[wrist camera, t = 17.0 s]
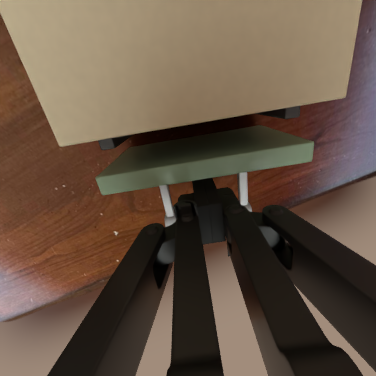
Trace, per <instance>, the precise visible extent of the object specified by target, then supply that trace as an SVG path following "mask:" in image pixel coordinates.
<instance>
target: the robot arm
mask: <svg viewBox="0 0 376 376" xmlns="http://www.w3.org/2000/svg"><path fill="white" fill-rule="evenodd" d="M192 183H193V190H194V193H191V194H184V195H181V196H180V197H179V198H178V202H177V203H176V204H175V205H174V206H173V209H174V213H175V218H176V221H175V222H174V223H173V224H172V225H169V226H167V227H163V225H162V224H159V223H154V224H149V225H147V226H146V227H144V228H143V229H142V230H141V232H140V233H139V235H138V236H137V238H136V239H135V241H134V242H133V244H132V245H131V247H130V249H129V250H128V252H127V253H126V255H125V256H124V258H123V259H122V261H121V262H120V264H119V266H118V267H117V269H116V270H115V272H114V273H113V275H112V276H111V278H110V279H109V281H108V283H107V284H106V286H105V287H104V289H103V290H102V292H101V293H100V295H99V297H98V298H97V300H96V301H95V303H94V304H93V306H92V307H91V309H90V310H89V312H88V314H87V315H86V317H85V318H84V320H83V321H82V323H81V324H80V326H79V328H78V329H77V331H76V332H75V334H74V335H73V337H72V339H71V340H70V342H69V343H68V344H67V346H66V348H65V349H64V351H63V352H62V354H61V355H60V357H59V358H58V360H57V361H56V363H55V365H54V366H53V368H52V369H51V371H50V372H49V374H48V375H47V376H135V375H136V372H137V369H138V366H139V363H140V360H141V357H142V355H143V351H144V349H145V345H146V343H147V340H148V337H149V334H150V331H151V328H152V325H153V322H154V319H155V316H156V313H157V310H158V307H159V304H160V301H161V298H162V295H163V292H164V289H165V286H166V283H167V280H168V277H169V274H170V271H171V268H172V264H173V262H174V288H173V319H172V349H171V364H170V367H169V369H168V370H167V376H224V374H223V367H222V362H221V355H220V349H219V343H218V337H217V331H216V325H215V318H214V312H213V306H212V300H211V293H210V287H209V281H208V274H207V268H206V262H205V256H204V250H203V244H209V243H215V242H222V241H226V239H227V249H228V256H230V257H231V260H232V263H233V266H234V269H235V272H236V275H237V279H238V282H239V285H240V288H241V291H242V294H243V298H244V301H245V304H246V307H247V310H248V313H249V316H250V320H251V323H252V326H253V329H254V332H255V335H256V339H257V341H258V345H259V348H260V351H261V354H262V358H263V361H264V364H265V367H266V370H267V373H268V376H363V375H362V373H361V372H360V370H359V369H358V367H357V366H356V364H355V363H354V362H353V360H352V359H351V358H350V357H349V355H348V354H347V353H346V352H345V351H344V350H343V349H341V348H339V347H336V346H334V345H332V344H331V343H330V342H329V341H328V339H327V338H326V336H325V335H324V333H323V331H322V330H321V328H320V326H319V325H318V323H317V322H316V320H315V318H314V317H313V315H312V313H311V312H310V310H309V309H308V307H307V305H306V304H305V302H304V301H303V299H302V297H301V295H300V294H299V292H298V291H297V289H296V287H297V288H298V289H299V290H300V291H301V292H302V293H303V294H304V295H305V296H306V297H307V299H308V300H309V301H310V302H311V303H312V304H313V305H314V306H315V307H316V308H317V309H318V310H319V311H320V313H321V314H322V315H323V316H324V317H325V318H326V319H327V320H328V321H329V322H330V323H331V324H332V325H333V326H334V328H335V329H336V330H337V331H338V332H339V333H340V334H341V335H342V336H343V337H344V338H345V339H346V340H347V342H348V343H350V345H351V346H352V347H353V348H354V349H355V350H356V351H357V352H358V353H359V354H360V355H361V357H362V358H363V359H364V360H365V361H366V362H367V363H368V364H369V365H370V366H371V367H372V368H373V369H374V371H375V372H376V265H374V264H373V263H371V262H369V261H368V260H366V259H365V258H363V257H362V256H360V255H359V254H357V253H355V252H354V251H352V250H351V249H349V248H347V247H346V246H344V245H343V244H341V243H340V242H338V241H337V240H335V239H334V238H332V237H330V236H329V235H327V234H326V233H324V232H322V231H321V230H319V229H318V228H316V227H315V226H313V225H312V224H310V223H308V222H307V221H305V220H304V219H302V218H301V217H299V216H297V215H296V214H294V213H293V212H291V211H290V210H288V209H287V208H285V207H282V206H279V205H269V206H266V207H264V208H263V213H259V212H250V211H248V209H247V208H246V207H245V206H243V205H241V204H240V203H239V201H238V199H237V197H236V196H235V194H234V192H233V191H232V190H231V189H230V188H228V187H227V188H220V189H216V186H215V184H214V181H213V179H212V178H206V179H200V180H194V181H192ZM225 236H226V238H225ZM294 285H295V286H296V287H295V286H294Z"/></svg>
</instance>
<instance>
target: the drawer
mask: <svg viewBox="0 0 376 376" xmlns="http://www.w3.org/2000/svg"><path fill="white" fill-rule="evenodd" d="M254 114H260V115H266V116H271V117H277V118H283V119H289V118H295V117H299V116H300V106H295V107H289V108H283V109H277V110H272V111H266V112H260V113H254ZM132 135H134V134H132ZM132 135H126V136H120V137H115V138H109V139H103V140H98V142H99V144H100V147H101V150H107V149H113V148H115V147H117V146H118V145H120V144H121V143H122V142H124V141H125V140H127V139H128V138H129V137H131V136H132ZM313 148H314V142H313V141H310V140H307V139H303V138H300V137H297V136H294V135H291V134H287V133H284V132H281V131H278V130H274V129H271V128H268V127H265V126H261V125H258V126H252V127H247V128H241V129H235V130H229V131H223V132H217V133H211V134H205V135H199V136H194V137H188V138H182V139H176V140H170V141H164V142H158V143H152V144H146V145H140V146H135V147H129V148H128V149H127V150H126V151H125V152H123V153H122V154H121V155H120V156H119V157H118V158H117V159H116V160H115V161H114V162H112V163H111V164H110V165H109V166H108V167H107V168H106V169H105V170H104V171H102V172H101V173H100V174H99V175H98V176H97V177H96V181H97V183H98V186H99V189H100V191H101V194H102V195H107V194H114V193H120V192H126V191H132V190H138V189H144V188H151V187H157V186H159V187H160V191H161V195H162V199H163V203H164V208H165V212H166V215H165V226H166V227H167V226H169V225H172V224H173V223H174V222H175V221H176V218H175V213H174V210H173V205H172V201H171V196H170V192H169V187H168V185H169V184H175V183H182V182H188V181H194V180H200V179H206V178H213V177H219V176H225V175H231V174H237V179H238V197H239V203H240V204H241V205H243V206H245V207H246V208H247V209H248V211H250V212H252V209H251V206H250V204H249V202H248V194H247V172H250V171H256V170H262V169H268V168H275V167H281V166H287V165H293V164H299V163H306V162H311V161H312V157H313Z"/></svg>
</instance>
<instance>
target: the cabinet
mask: <svg viewBox="0 0 376 376" xmlns="http://www.w3.org/2000/svg"><path fill="white" fill-rule="evenodd" d="M361 4H362V0H0V13H1V16H2V18H3V20H4V22H5V25H6V27H7V29H8V31H9V34H10V36H11V38H12V40H13V43H14V45H15V47H16V49H17V52H18V54H19V56H20V58H21V61H22V63H23V65H24V67H25V70H26V72H27V74H28V76H29V79H30V81H31V83H32V85H33V88H34V90H35V92H36V94H37V97H38V99H39V101H40V103H41V106H42V108H43V110H44V112H45V115H46V117H47V119H48V121H49V124H50V126H51V128H52V130H53V133H54V135H55V137H56V139H57V142H58V144H59V146H68V145H74V144H80V143H85V142H91V141H97V140H103V139H109V138H115V137H120V136H126V135H132V134H138V133H144V132H149V131H155V130H161V129H167V128H173V127H179V126H184V125H190V124H196V123H202V122H208V121H213V120H219V119H225V118H231V117H237V116H242V115H248V114H254V113H260V112H266V111H272V110H277V109H283V108H289V107H295V106H301V105H306V104H312V103H318V102H324V101H330V100H336V99H341V98H344V97H346V93H347V87H348V81H349V75H350V69H351V63H352V57H353V52H354V46H355V40H356V34H357V28H358V22H359V16H360V10H361Z"/></svg>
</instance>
